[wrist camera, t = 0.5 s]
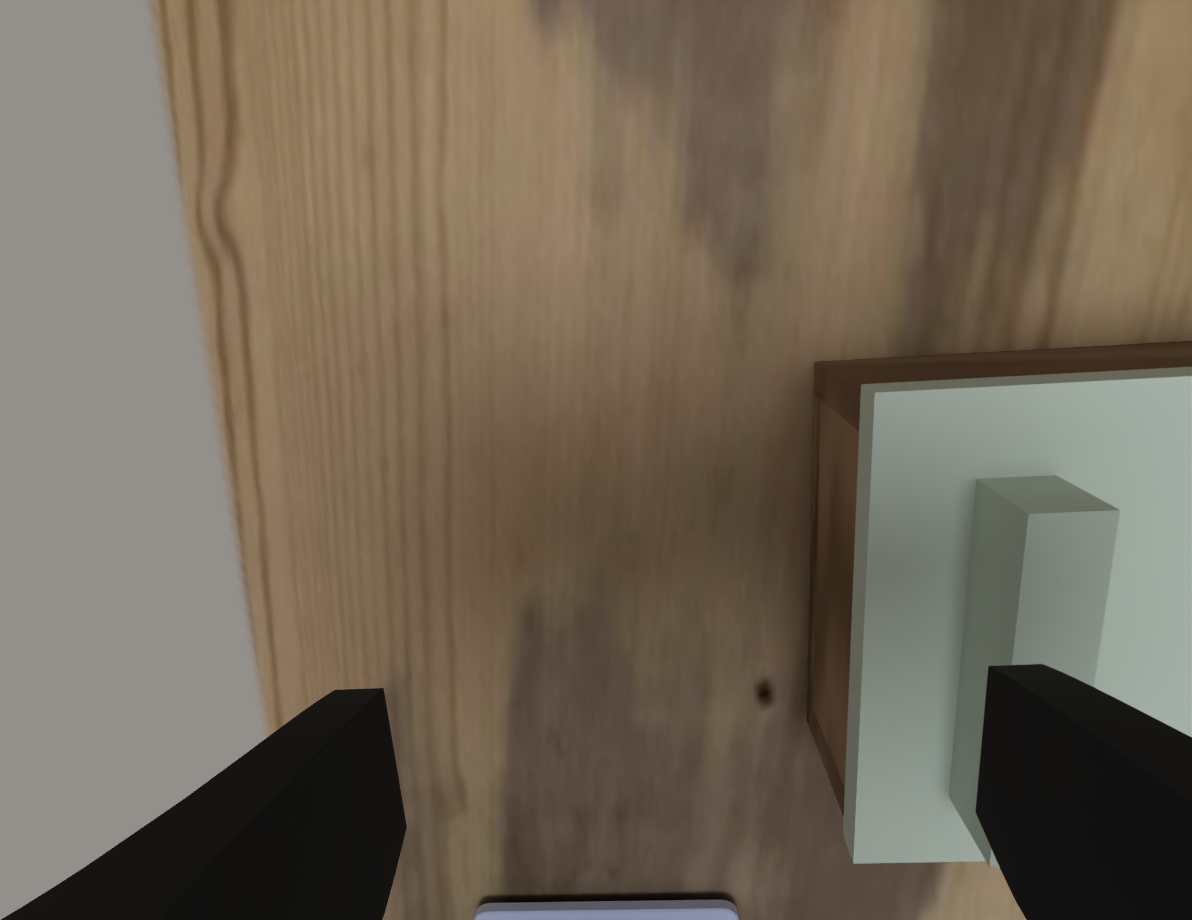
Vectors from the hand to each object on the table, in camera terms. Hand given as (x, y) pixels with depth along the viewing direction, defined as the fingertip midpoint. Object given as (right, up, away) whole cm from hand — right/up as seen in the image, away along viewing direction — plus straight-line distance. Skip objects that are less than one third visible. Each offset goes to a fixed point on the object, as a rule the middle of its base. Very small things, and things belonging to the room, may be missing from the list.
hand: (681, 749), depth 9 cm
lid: (+10, 0, +6) cm, 12 cm away
